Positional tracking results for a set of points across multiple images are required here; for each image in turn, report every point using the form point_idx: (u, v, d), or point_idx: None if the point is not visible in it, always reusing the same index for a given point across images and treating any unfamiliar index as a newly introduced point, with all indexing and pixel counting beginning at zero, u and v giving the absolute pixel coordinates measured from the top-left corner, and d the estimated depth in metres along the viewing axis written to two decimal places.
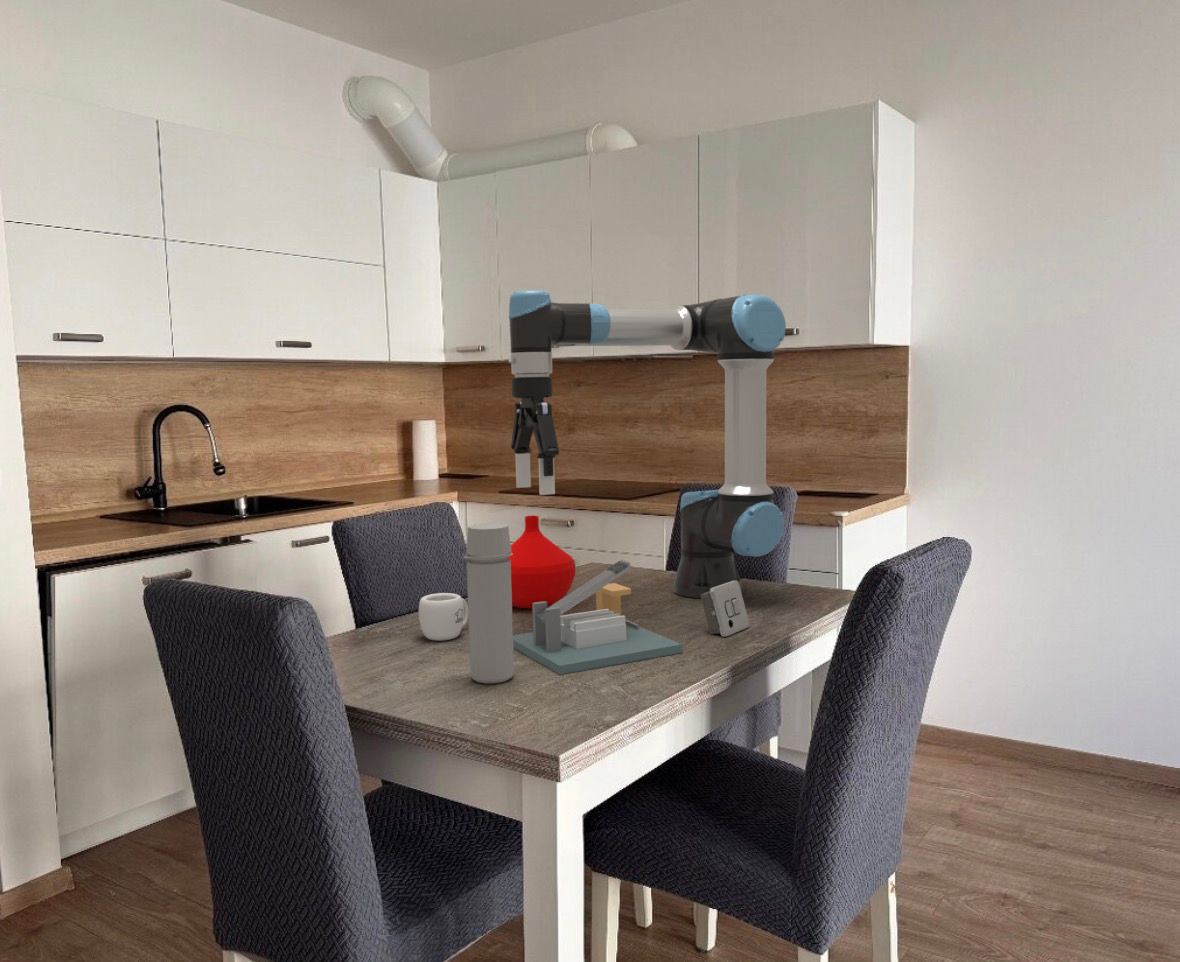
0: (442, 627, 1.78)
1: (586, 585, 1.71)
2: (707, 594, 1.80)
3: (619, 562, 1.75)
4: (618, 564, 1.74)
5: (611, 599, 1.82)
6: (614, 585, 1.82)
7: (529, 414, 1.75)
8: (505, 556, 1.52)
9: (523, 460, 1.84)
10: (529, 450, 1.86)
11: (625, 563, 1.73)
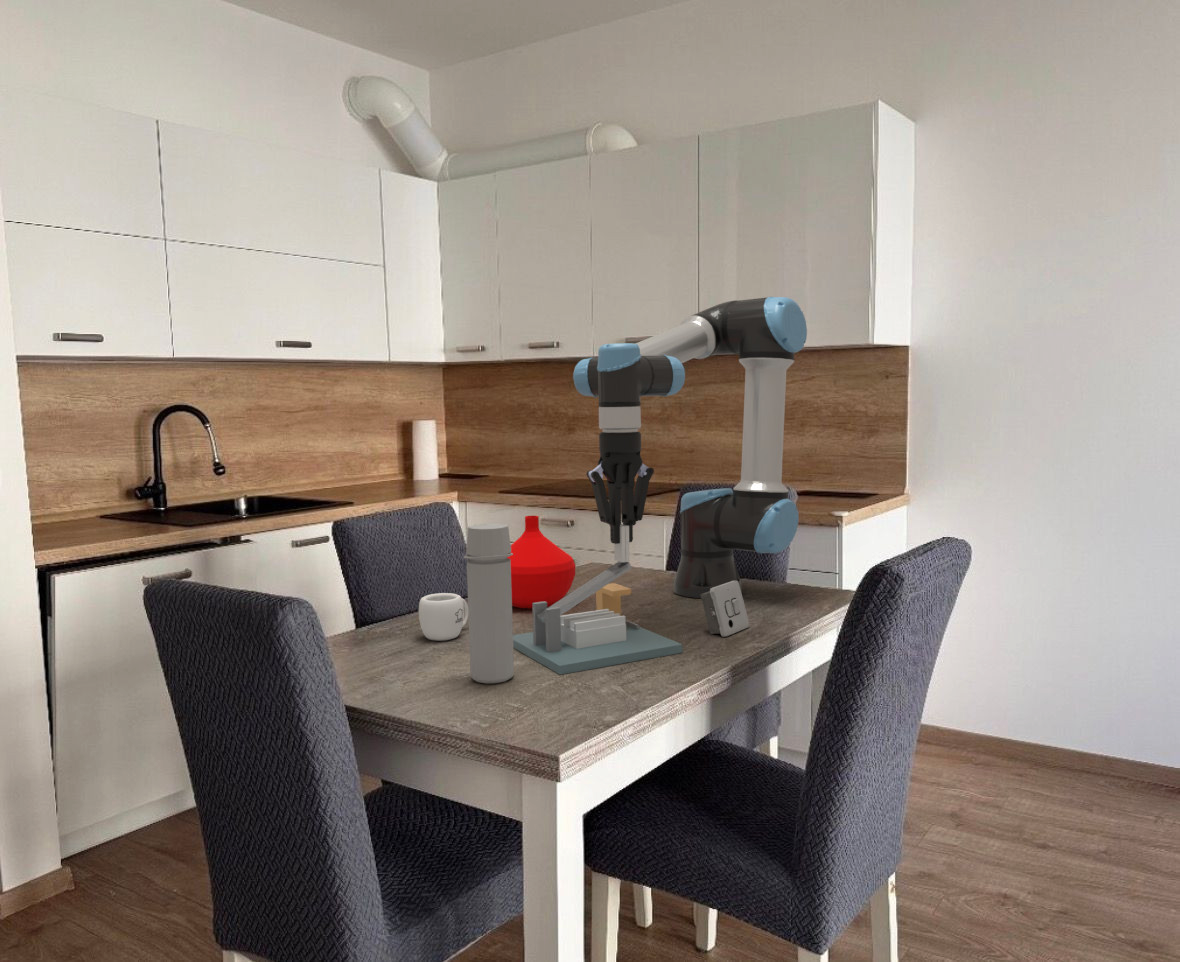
0: (442, 627, 1.78)
1: (586, 585, 1.71)
2: (707, 594, 1.80)
3: (619, 562, 1.75)
4: (618, 564, 1.74)
5: (611, 599, 1.82)
6: (614, 585, 1.82)
7: None
8: (505, 556, 1.52)
9: None
10: (631, 522, 1.72)
11: (625, 563, 1.73)
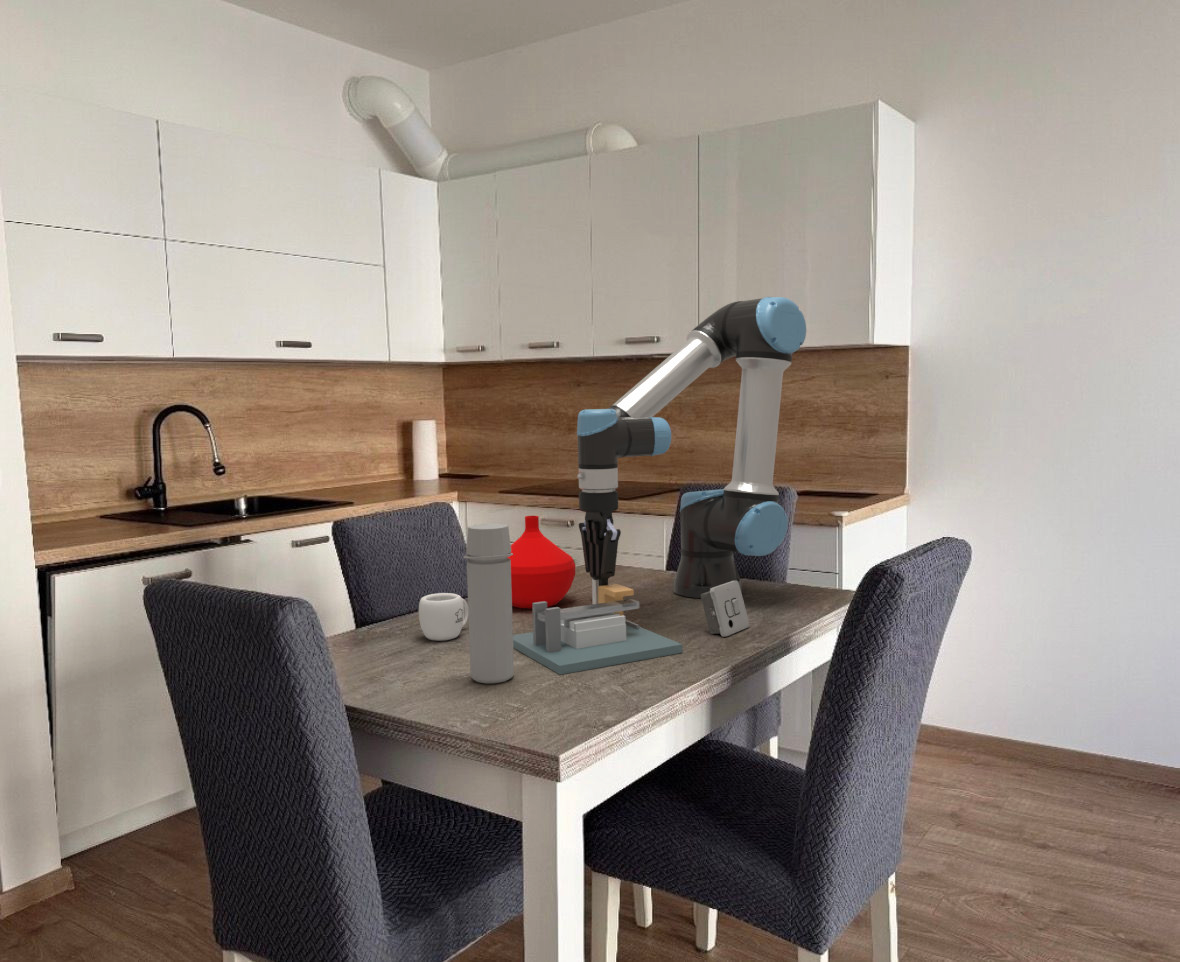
0: (442, 627, 1.78)
1: (592, 606, 1.72)
2: (707, 594, 1.80)
3: (629, 600, 1.76)
4: (627, 600, 1.76)
5: (613, 600, 1.81)
6: (616, 586, 1.81)
7: (596, 531, 1.82)
8: (505, 556, 1.52)
9: None
10: None
11: (635, 601, 1.75)
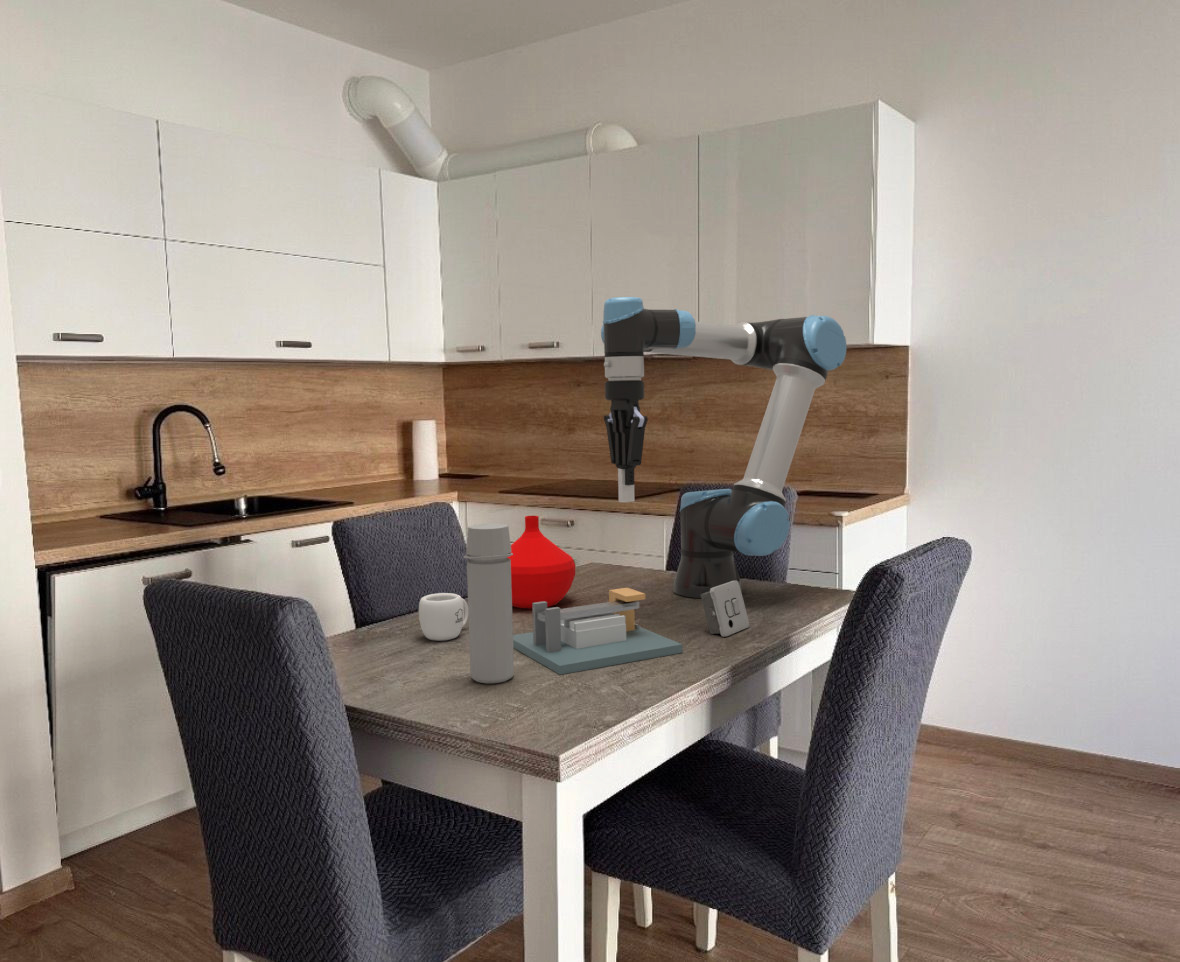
0: (442, 627, 1.78)
1: (592, 606, 1.72)
2: (707, 594, 1.80)
3: None
4: None
5: None
6: (627, 590, 1.78)
7: (623, 419, 1.82)
8: (505, 556, 1.52)
9: None
10: None
11: (635, 601, 1.75)
